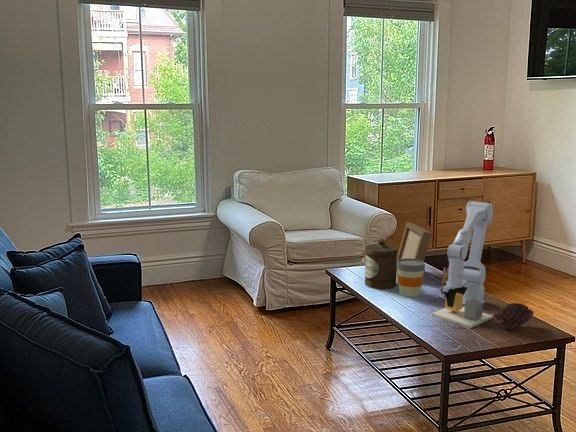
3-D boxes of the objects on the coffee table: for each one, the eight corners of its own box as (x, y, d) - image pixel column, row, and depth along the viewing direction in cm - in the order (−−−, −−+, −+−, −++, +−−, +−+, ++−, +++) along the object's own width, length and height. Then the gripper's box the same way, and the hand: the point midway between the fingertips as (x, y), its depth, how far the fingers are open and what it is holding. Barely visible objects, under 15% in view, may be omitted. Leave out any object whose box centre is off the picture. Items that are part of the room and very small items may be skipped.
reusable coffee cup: (411, 300, 267) (412, 267, 264) (389, 293, 277) (390, 261, 274) (429, 294, 275) (431, 262, 272) (407, 287, 285) (409, 256, 282)
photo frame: (409, 282, 292) (412, 231, 287) (393, 270, 313) (396, 222, 308) (438, 281, 295) (441, 231, 290) (421, 269, 316) (423, 221, 311)
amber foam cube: (451, 305, 254) (452, 291, 253) (462, 308, 250) (463, 294, 249) (444, 308, 251) (445, 294, 250) (455, 311, 247) (456, 297, 246)
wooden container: (360, 280, 296) (361, 236, 291) (389, 279, 299) (391, 235, 294) (370, 290, 282) (371, 243, 277) (401, 288, 284) (402, 242, 280)
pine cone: (523, 320, 244) (525, 296, 242) (541, 329, 235) (544, 304, 233) (487, 326, 238) (488, 301, 236) (503, 335, 229) (505, 310, 227)
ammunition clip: (461, 290, 281) (463, 265, 279) (463, 291, 279) (465, 266, 277) (440, 292, 278) (441, 267, 276) (442, 293, 277) (443, 268, 274)
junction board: (454, 306, 260) (455, 289, 258) (492, 318, 246) (493, 300, 245) (431, 315, 249) (432, 297, 248) (470, 327, 236) (471, 309, 235)
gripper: (457, 267, 255) (456, 298, 258) (437, 274, 246) (435, 306, 248) (472, 271, 250) (470, 303, 253) (452, 278, 241) (450, 311, 243)
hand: (454, 305), depth 250 cm, fingers closed on amber foam cube, 5 cm apart
